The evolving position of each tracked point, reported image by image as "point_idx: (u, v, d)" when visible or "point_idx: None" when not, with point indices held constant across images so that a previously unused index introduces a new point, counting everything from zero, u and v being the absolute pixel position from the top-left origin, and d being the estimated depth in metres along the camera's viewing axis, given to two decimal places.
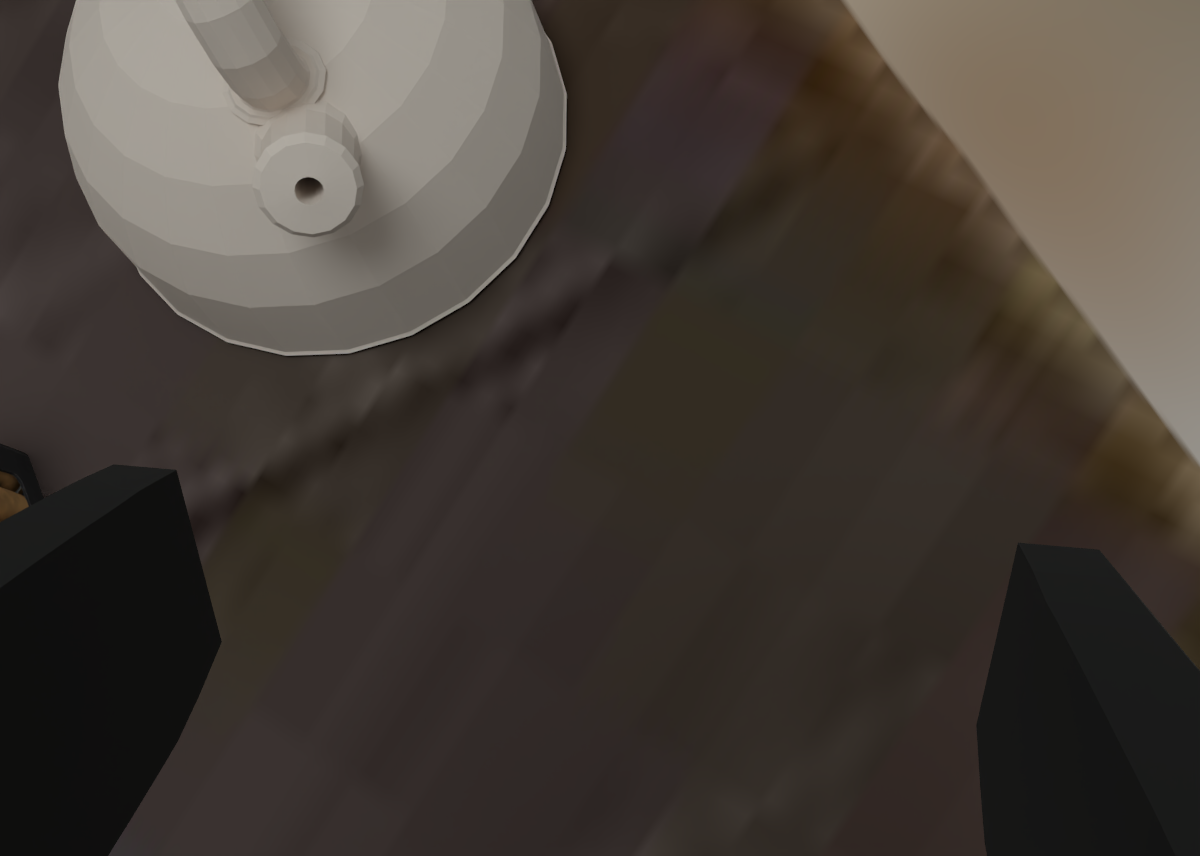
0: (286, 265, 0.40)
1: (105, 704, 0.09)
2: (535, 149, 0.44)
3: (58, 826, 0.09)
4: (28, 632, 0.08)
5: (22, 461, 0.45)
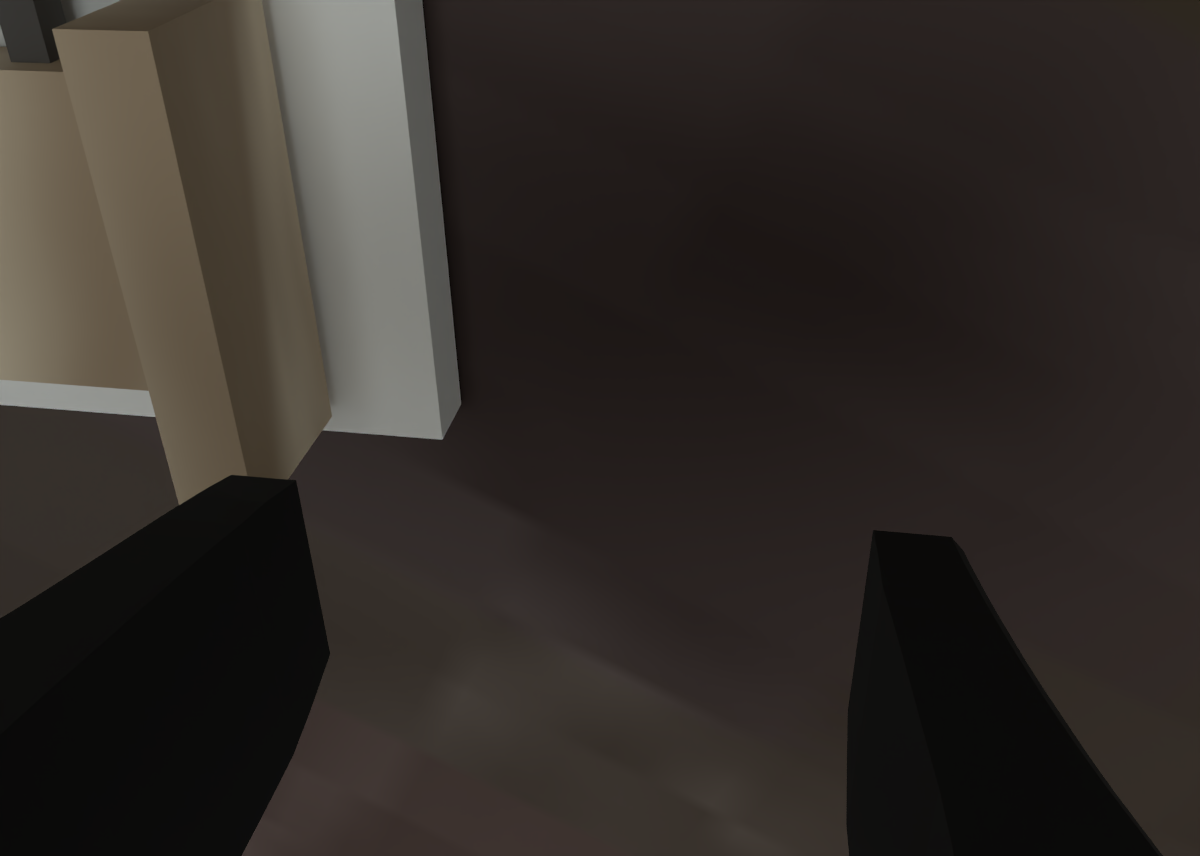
0: None
1: (233, 719, 0.09)
2: None
3: (191, 844, 0.09)
4: (170, 647, 0.08)
5: None
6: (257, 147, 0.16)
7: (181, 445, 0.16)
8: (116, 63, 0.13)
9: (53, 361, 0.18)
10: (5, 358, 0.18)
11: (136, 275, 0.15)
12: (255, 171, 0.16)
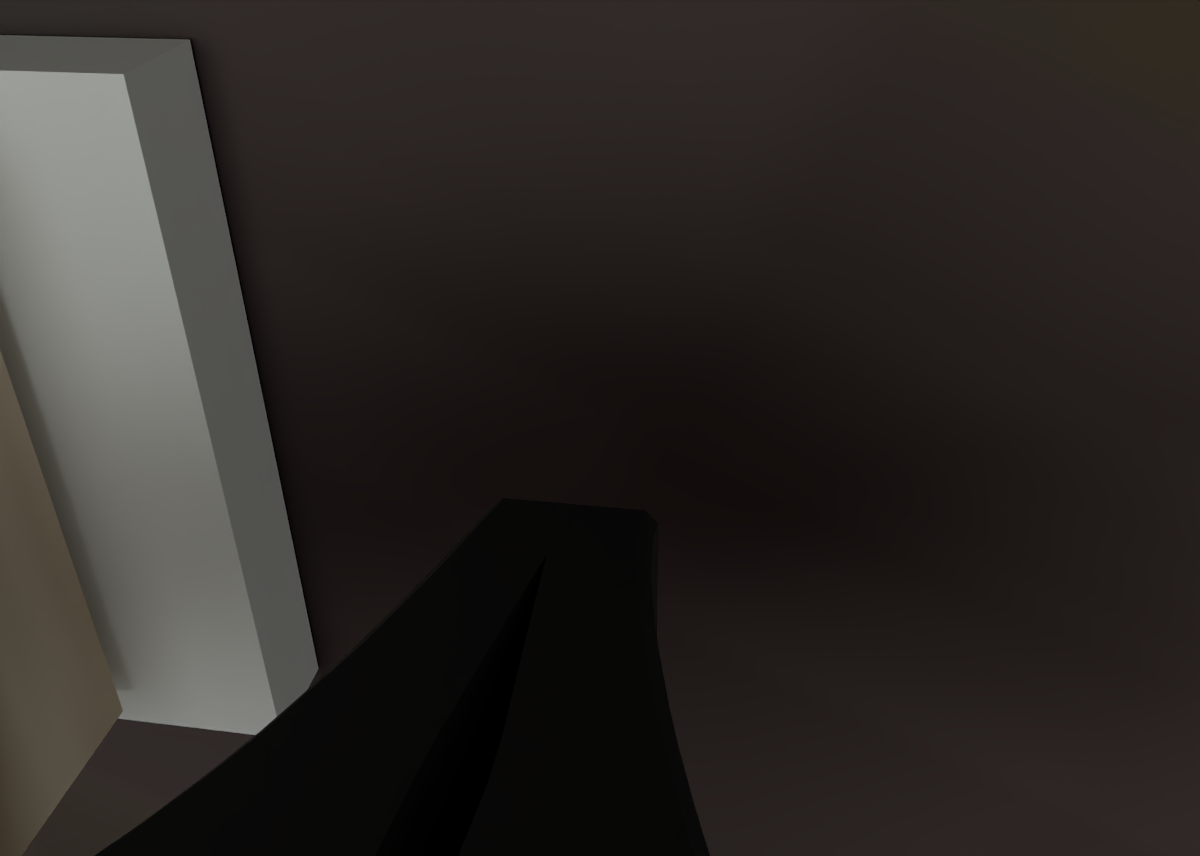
0: None
1: None
2: None
3: None
4: (503, 685, 0.08)
5: None
6: None
7: None
8: None
9: None
10: None
11: None
12: None
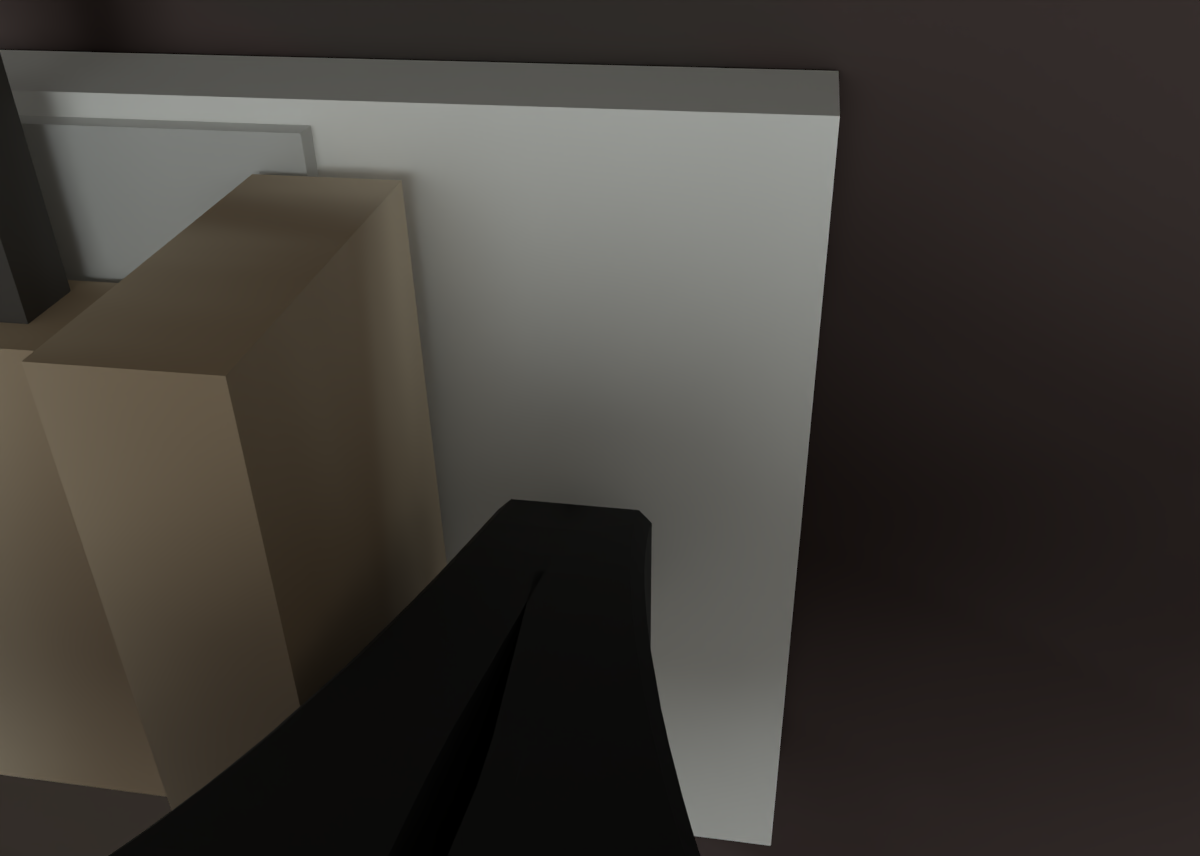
0: None
1: None
2: None
3: None
4: None
5: None
6: (394, 470, 0.09)
7: None
8: (156, 428, 0.06)
9: (38, 754, 0.11)
10: None
11: (187, 755, 0.08)
12: (392, 514, 0.09)
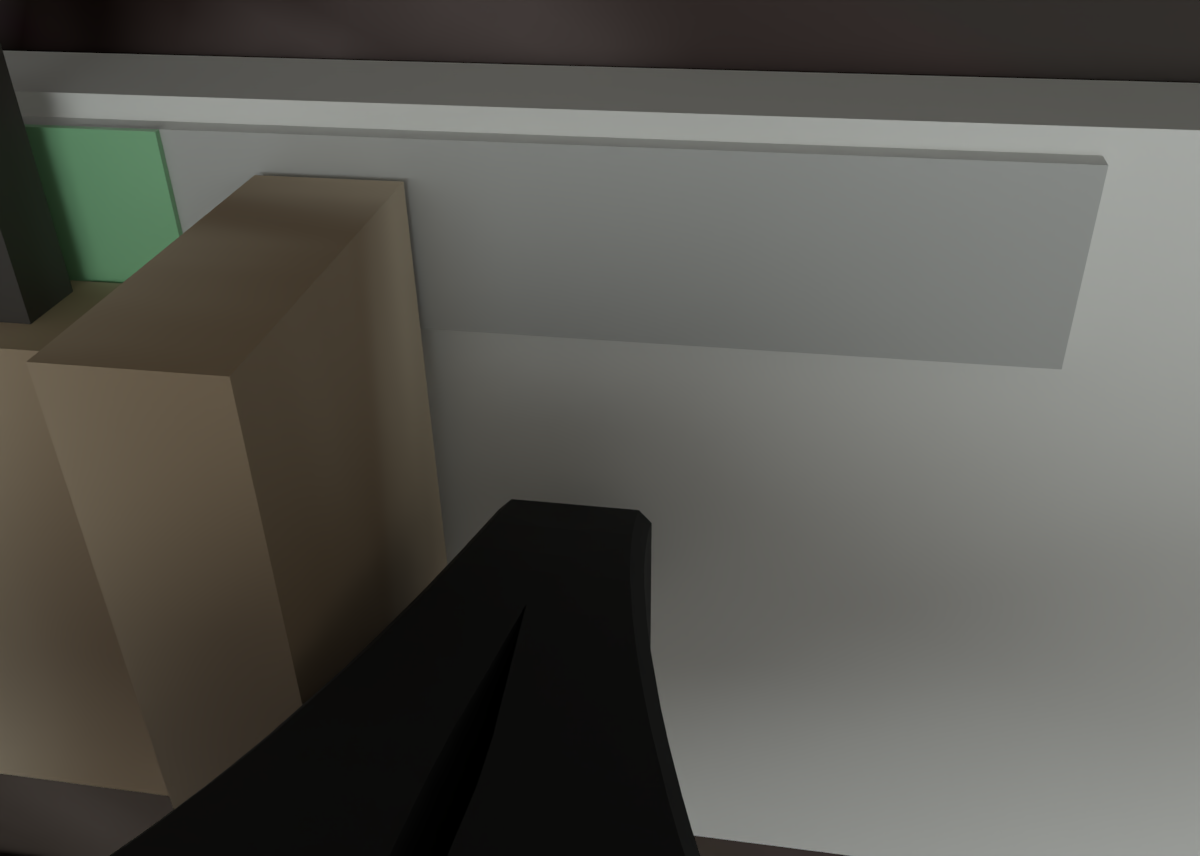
0: None
1: None
2: None
3: None
4: None
5: None
6: (396, 472, 0.09)
7: None
8: (160, 428, 0.06)
9: (39, 752, 0.11)
10: None
11: (189, 754, 0.08)
12: (393, 514, 0.09)
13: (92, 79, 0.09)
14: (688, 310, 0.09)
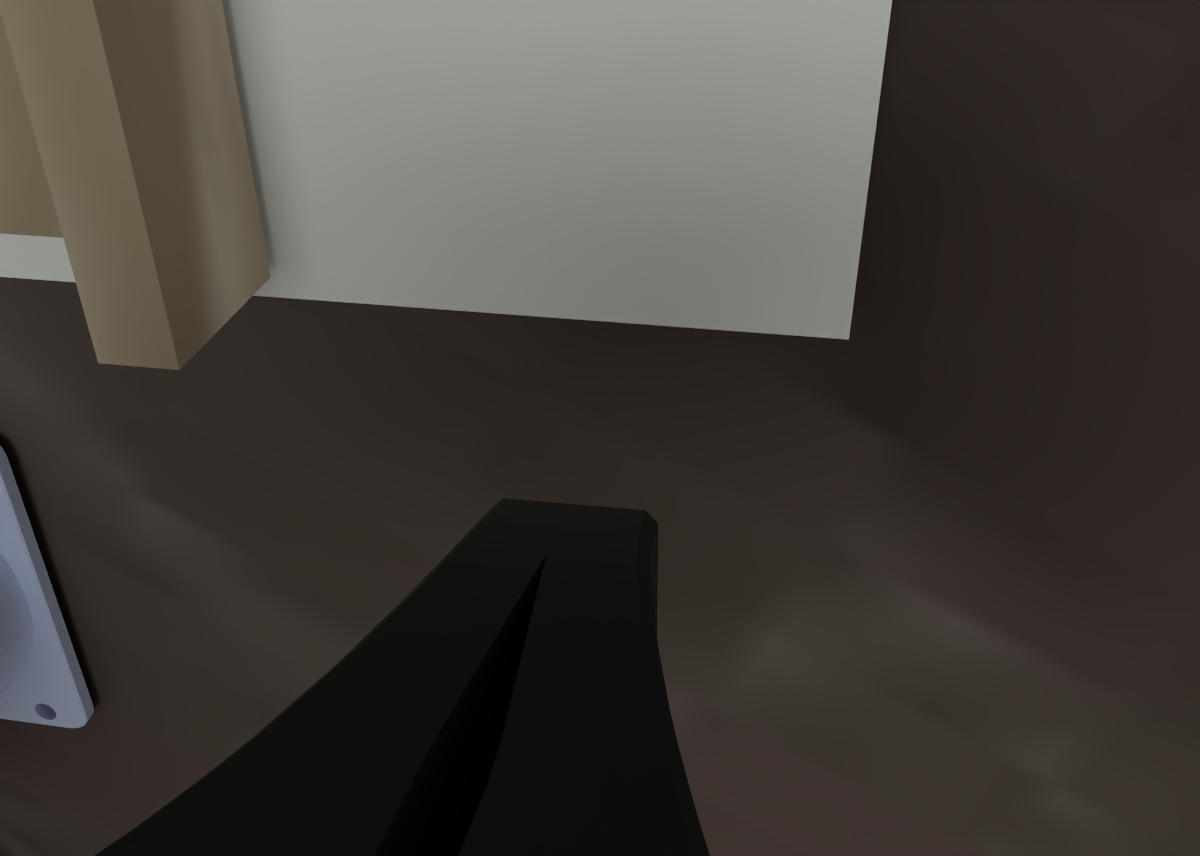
0: None
1: None
2: None
3: None
4: (503, 685, 0.08)
5: None
6: None
7: (94, 279, 0.15)
8: None
9: None
10: None
11: (38, 76, 0.13)
12: None
13: None
14: None
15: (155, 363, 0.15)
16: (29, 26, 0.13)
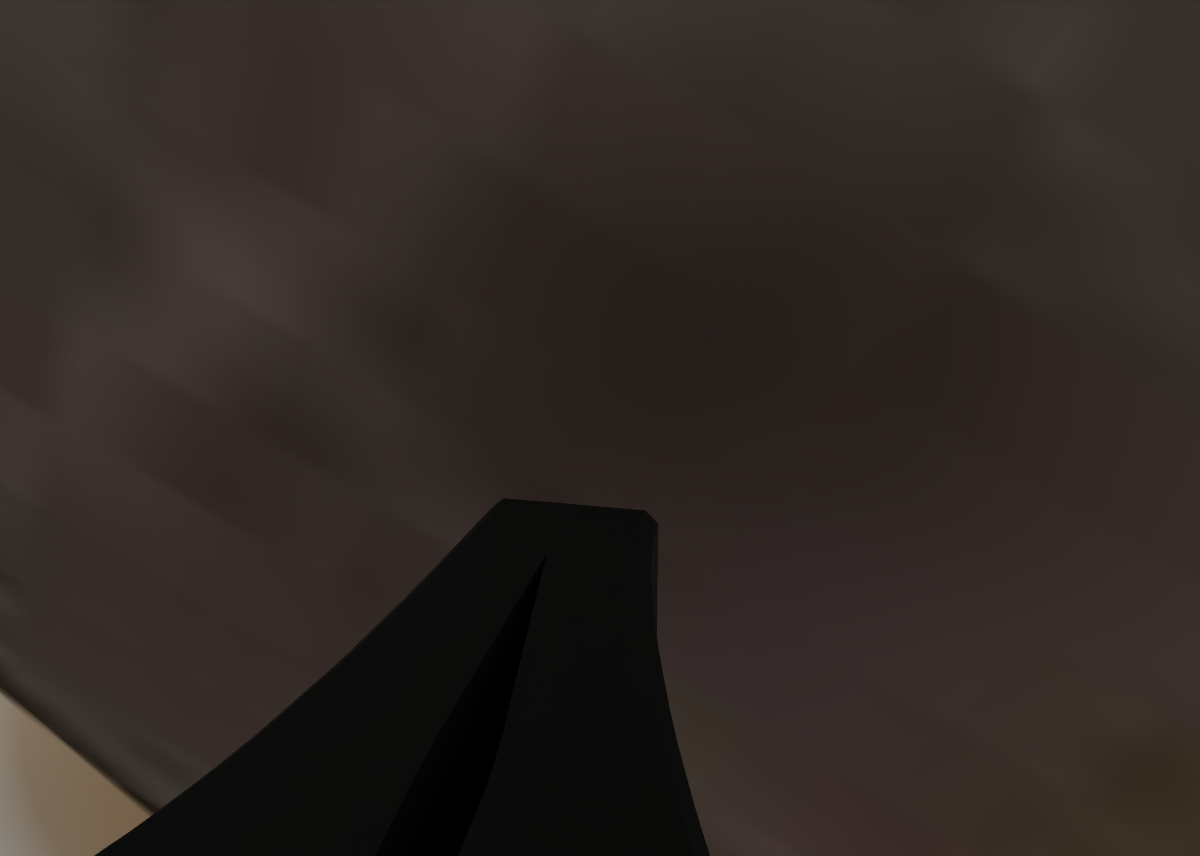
0: None
1: None
2: None
3: None
4: (502, 685, 0.08)
5: None
6: None
7: None
8: None
9: None
10: None
11: None
12: None
13: None
14: None
15: None
16: None
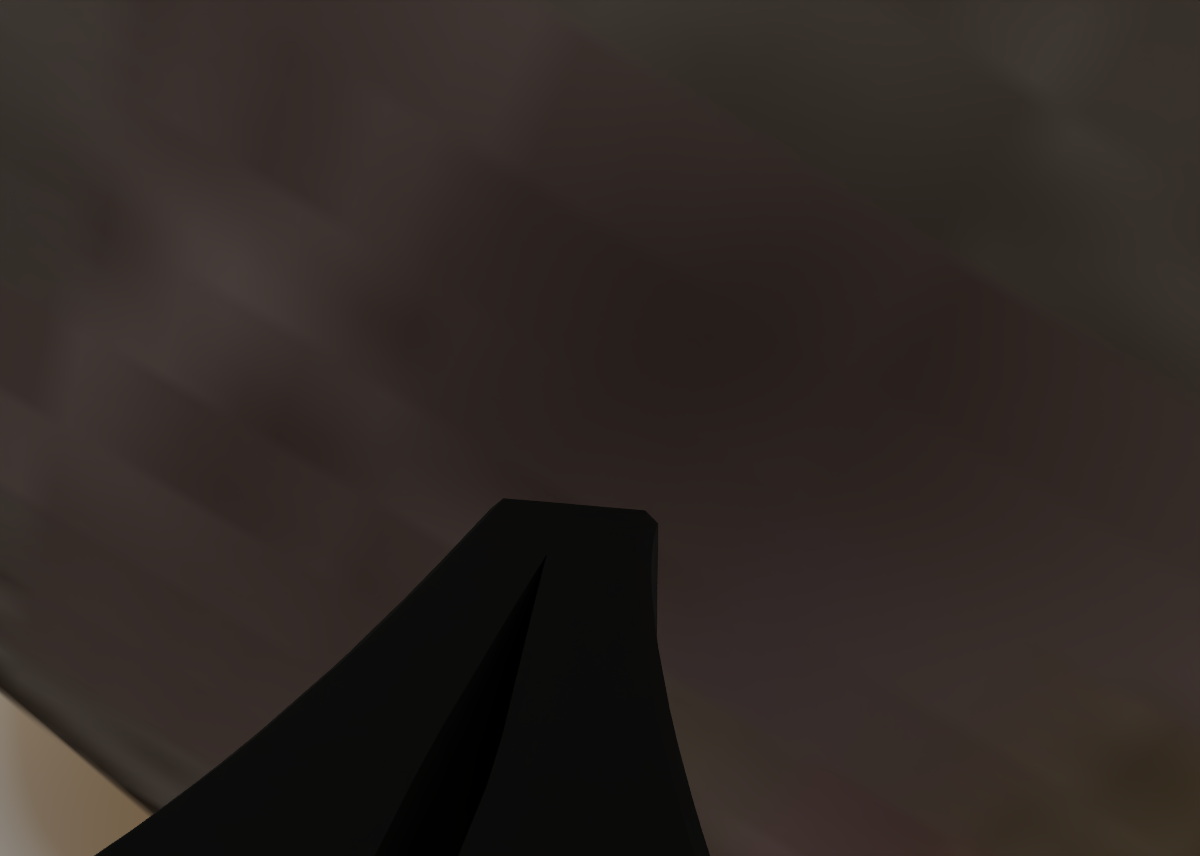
0: None
1: None
2: None
3: None
4: (502, 685, 0.08)
5: None
6: None
7: None
8: None
9: None
10: None
11: None
12: None
13: None
14: None
15: None
16: None
